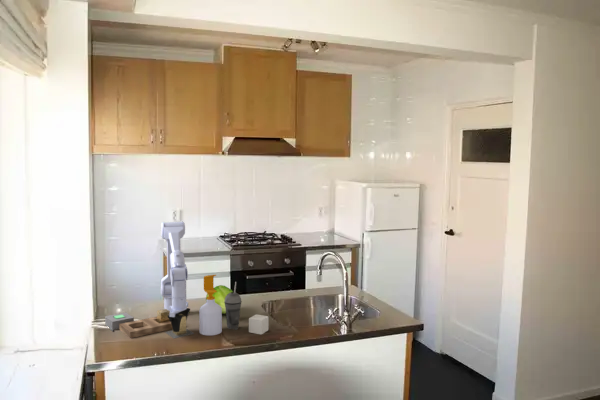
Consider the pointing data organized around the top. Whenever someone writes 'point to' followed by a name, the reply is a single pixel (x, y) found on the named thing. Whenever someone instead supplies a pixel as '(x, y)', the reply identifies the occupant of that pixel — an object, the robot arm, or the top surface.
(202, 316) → the soap bottle
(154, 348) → the top surface
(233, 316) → the beverage cup
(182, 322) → the block
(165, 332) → the mat
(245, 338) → the top surface
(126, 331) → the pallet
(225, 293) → the lettuce
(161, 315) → the block
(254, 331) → the white cube
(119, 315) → the button
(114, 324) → the button housing
